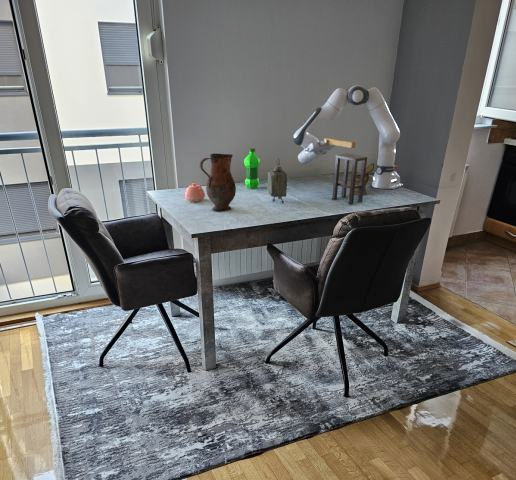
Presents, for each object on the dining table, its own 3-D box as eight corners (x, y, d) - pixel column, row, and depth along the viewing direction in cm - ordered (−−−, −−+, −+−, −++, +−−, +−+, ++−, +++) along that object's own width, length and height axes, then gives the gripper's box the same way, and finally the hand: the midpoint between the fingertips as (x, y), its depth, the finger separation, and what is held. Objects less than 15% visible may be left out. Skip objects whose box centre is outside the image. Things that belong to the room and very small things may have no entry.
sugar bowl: (197, 196, 298) (196, 180, 292) (211, 200, 289) (210, 183, 284) (181, 200, 290) (180, 183, 285) (195, 204, 282) (194, 187, 277)
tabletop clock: (286, 204, 283) (287, 160, 270) (271, 204, 282) (272, 160, 269) (281, 198, 295) (282, 156, 282) (267, 198, 294) (267, 156, 281)
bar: (327, 142, 297) (327, 137, 295) (354, 147, 280) (355, 142, 279) (323, 143, 295) (323, 138, 293) (351, 148, 279) (351, 142, 277)
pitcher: (242, 209, 272) (241, 154, 256) (211, 216, 261) (208, 159, 245) (226, 203, 283) (224, 150, 268) (195, 209, 272) (191, 154, 256)
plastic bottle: (259, 189, 315) (259, 149, 302) (244, 189, 315) (243, 149, 302) (260, 186, 323) (260, 147, 310) (244, 186, 323) (244, 147, 311)
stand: (343, 196, 299) (347, 153, 285) (362, 201, 288) (367, 157, 274) (332, 199, 294) (335, 154, 280) (350, 204, 283) (355, 158, 269)
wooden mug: (374, 193, 307) (378, 164, 297) (357, 195, 302) (360, 166, 292) (366, 190, 314) (369, 162, 304) (349, 192, 309) (352, 163, 299)
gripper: (302, 146, 298) (316, 136, 287) (325, 143, 309) (339, 134, 297) (305, 156, 299) (318, 147, 287) (328, 152, 310) (342, 143, 298)
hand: (329, 140), depth 292 cm, fingers closed on bar, 3 cm apart
